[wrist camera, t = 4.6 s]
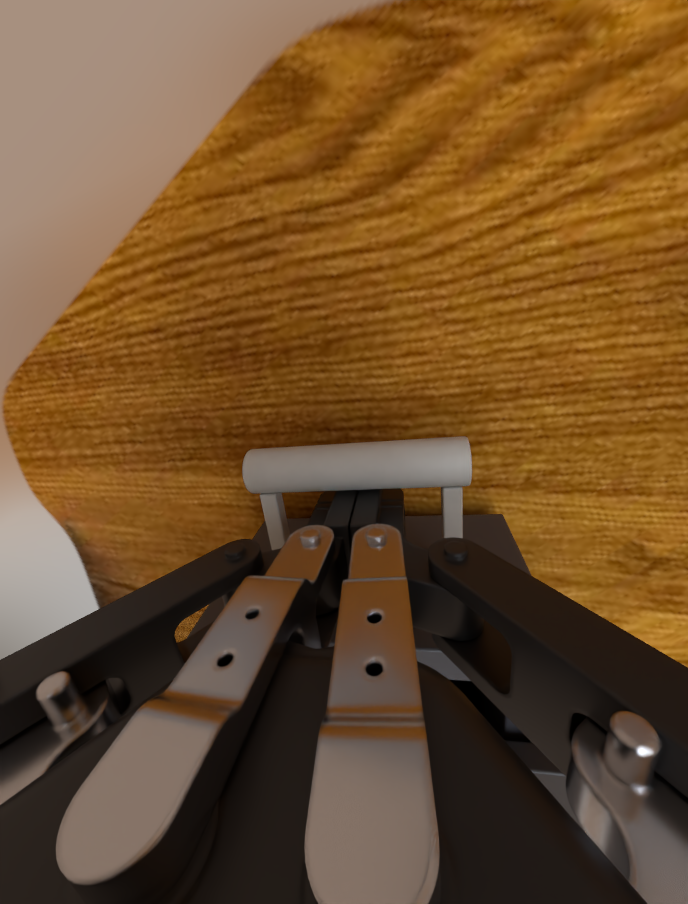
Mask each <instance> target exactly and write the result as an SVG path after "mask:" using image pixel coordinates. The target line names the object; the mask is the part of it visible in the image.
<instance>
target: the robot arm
mask: <svg viewBox="0 0 688 904" xmlns="http://www.w3.org/2000/svg"><path fill="white" fill-rule="evenodd" d="M221 596H222V599H223V602H224V606H225V607H224V609H223V610H222V611H221V613H220V614H219V616H218V617H217V619H216V620H215V621H213V622H212V623H210V624H209V625H207V626H205V627H204V628H202V629H201V630H199V631H198V632H196V633H195V634H193V635H191V636H190V637H188V638H187V639H185V640H183V641H181V642H177V643H176V640H175V637H174V634H175V630H176V628H177V626H178V625H179V623H180V622H181V621H183V620H184V619H185V618H187V617H188V616H190V615H192V614H193V613H195V612H197V611H198V610H200V609H202V608H203V607H205V606H207V605H208V604H210V603H212V602H213V601H215V600H217V599H218V598H220V597H221ZM413 627H414V628H417V629H420V630H423V631H426V632H429V633H432V638H433V641H434V643H435V644H436V646H437V647H438V648H439V649H440V650H441V651H442V652H443V653H444V654H445V655H446V656H447V657H448V658H449V659H450V660H451V661H452V662H453V663H454V664H455V665H456V666H457V667H458V668H459V669H460V670H461V671H462V672H463V673H464V674H465V675H466V676H467V677H468V678H469V679H470V680H471V681H472V682H473V683H474V684H475V685H476V686H477V687H478V688H479V689H480V690H481V691H482V692H483V693H484V694H485V696H486V697H487V698H488V699H489V700H490V701H491V702H492V703H493V704H494V705H495V706H496V707H497V708H498V709H499V710H500V711H501V712H502V713H503V714H504V715H505V716H506V717H507V718H508V719H509V720H510V721H511V722H512V723H513V724H514V725H515V726H516V727H517V728H518V729H519V730H520V731H521V732H522V733H523V734H524V735H525V736H526V737H527V738H528V739H529V740H530V741H531V742H532V743H533V744H534V745H535V746H536V747H537V748H538V749H539V750H540V751H541V752H542V753H543V754H544V755H545V756H546V757H547V758H548V759H549V760H550V761H551V762H552V763H553V764H554V765H555V766H556V767H557V768H558V769H559V770H560V771H561V772H562V773H563V774H564V775H565V776H566V793H567V798H568V801H569V804H570V807H571V809H572V811H573V813H574V815H575V817H576V819H577V820H578V822H579V823H580V825H581V827H582V828H583V829H584V830H585V832H586V833H587V834H588V835H587V834H586V833H585V832H584V830H583V829H582V828H581V827H580V826H579V825H578V824H577V822H576V821H575V820H574V819H573V818H572V817H571V816H570V814H569V813H568V812H567V811H566V810H565V809H564V808H563V806H562V805H561V804H560V803H559V802H558V801H557V800H556V798H555V797H554V796H553V795H552V794H551V793H550V792H549V790H548V789H547V788H546V787H545V786H544V785H543V784H542V782H541V781H540V780H539V779H538V778H537V777H536V776H535V774H534V773H533V772H532V771H531V770H530V769H529V768H528V766H527V765H526V764H525V763H524V762H523V761H522V760H521V759H520V757H519V756H518V755H517V754H516V753H515V752H514V751H513V749H512V748H511V747H510V746H509V745H508V744H507V743H506V741H505V740H504V739H503V738H502V737H501V736H500V735H499V733H498V732H497V731H496V730H495V729H494V728H493V727H492V725H491V724H490V723H489V722H488V721H487V720H486V719H485V717H484V716H483V715H482V714H481V713H480V712H479V711H478V709H477V708H476V707H475V706H474V705H473V704H472V703H471V701H470V700H469V699H468V698H467V697H466V696H465V695H464V694H463V693H462V691H461V690H460V689H459V688H458V687H456V686H455V685H454V684H453V683H452V682H451V681H450V680H449V679H448V678H446V677H445V676H443V675H442V674H441V673H439V672H438V671H436V670H435V669H433V668H431V667H429V666H427V665H425V664H423V663H421V662H418V661H417V658H416V649H415V641H414V633H413ZM0 904H688V668H687V667H686V666H684V665H682V664H680V663H679V662H677V661H675V660H674V659H672V658H670V657H668V656H667V655H665V654H663V653H662V652H660V651H658V650H657V649H655V648H653V647H651V646H650V645H648V644H646V643H645V642H643V641H641V640H640V639H638V638H636V637H634V636H633V635H631V634H629V633H628V632H626V631H624V630H623V629H621V628H619V627H617V626H616V625H614V624H612V623H611V622H609V621H607V620H606V619H604V618H602V617H600V616H599V615H597V614H595V613H594V612H592V611H590V610H589V609H587V608H585V607H583V606H582V605H580V604H578V603H577V602H575V601H573V600H572V599H570V598H568V597H566V596H565V595H563V594H561V593H560V592H558V591H556V590H555V589H553V588H551V587H549V586H548V585H546V584H544V583H543V582H541V581H539V580H538V579H536V578H534V577H532V576H531V575H529V574H527V573H526V572H524V571H522V570H520V569H519V568H517V567H515V566H514V565H512V564H510V563H509V562H507V561H505V560H503V559H502V558H500V557H498V556H497V555H495V554H493V553H492V552H490V551H488V550H486V549H485V548H483V547H481V546H480V545H478V544H476V543H474V542H472V541H470V540H467V539H464V538H456V537H449V538H443V539H440V540H437V541H435V542H434V543H432V544H431V545H430V547H429V549H426V548H422V547H418V546H416V545H414V544H412V543H410V542H409V541H408V540H407V539H406V524H405V510H404V496H403V491H402V490H401V489H400V488H396V489H368V490H340V491H325V492H324V493H322V494H321V495H320V498H319V500H318V502H317V504H316V506H315V510H314V511H313V513H312V515H311V517H310V519H309V522H308V524H307V526H305V527H302V528H300V529H298V530H296V531H294V532H293V533H292V534H291V535H290V536H289V537H288V539H287V541H286V542H285V544H284V545H283V547H282V548H280V549H275V550H271V551H266V552H261V549H260V545H259V543H258V542H256V541H254V540H251V539H241V540H236V541H232V542H230V543H227V544H225V545H223V546H221V547H219V548H217V549H215V550H213V551H211V552H209V553H208V554H206V555H204V556H202V557H200V558H198V559H196V560H194V561H192V562H190V563H188V564H186V565H184V566H182V567H180V568H178V569H176V570H174V571H173V572H171V573H169V574H167V575H165V576H163V577H161V578H159V579H157V580H155V581H153V582H151V583H149V584H147V585H145V586H143V587H141V588H139V589H137V590H136V591H134V592H132V593H130V594H128V595H126V596H124V597H122V598H120V599H118V600H116V601H114V602H112V603H110V604H108V605H106V606H104V607H102V608H100V609H99V610H97V611H95V612H93V613H91V614H89V615H87V616H85V617H83V618H81V619H79V620H77V621H75V622H73V623H71V624H69V625H67V626H65V627H64V628H62V629H60V630H58V631H56V632H54V633H52V634H50V635H48V636H46V637H44V638H42V639H40V640H38V641H36V642H34V643H32V644H31V645H28V646H27V647H25V648H23V649H21V650H19V651H17V652H15V653H13V654H11V655H9V656H7V657H5V658H3V659H1V660H0Z"/></svg>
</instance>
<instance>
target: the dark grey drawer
mask: <svg viewBox="0 0 688 904" xmlns="http://www.w3.org/2000/svg"><path fill="white" fill-rule="evenodd" d="M242 473H243V480H244V484H245V486H246V488H247V490H248V491H249V492H251V493H253V494H255V493H261V494H260V499H261V504H262V508H263V513H264V517H265V521H264V523H263V524H262V526H261V527H260V529H259V530H258V532H257V533H256V535H255V536H254V538H253V539H252V540H254V541H256V542H258V543H259V545H260V549H261V552H266V551H271V550H275V549H280V548H282V547H283V545H284V544H285V542H286V541H287V539H288V537H289V536H290V535H291V534H292V533H293V532H294V531H296V530H298V529H300V528H302V527H305V526H307V524H308V522H309V519H310V518H293V519H287V517H286V512H285V507H284V502H283V497H282V493H283V492H311V491H340V490H368V489H396V488H424V487H441V508H442V515H436V516H405V524H406V539H407V540H408V541H409V542H410V543H412V544H414V545H416V546H418V547H422V548H426V549H429V547H430V545H431V544H432V543H434V542H435V541H437V540H440V539H443V538H449V537H456V538H464V539H467V540H470V541H472V542H474V543H476V544H478V545H480V546H481V547H483V548H485V549H486V550H488V551H490V552H492V553H493V554H495V555H497V556H498V557H500V558H502V559H503V560H505V561H507V562H509V563H510V564H512V565H514V566H515V567H517V568H519V569H520V570H522V571H524V572H526V573H527V574H529V575H531V574H530V572H529V569H528V567H527V565H526V563H525V561H524V559H523V557H522V555H521V553H520V550H519V548H518V546H517V544H516V542H515V540H514V538H513V536H512V534H511V532H510V529H509V527H508V525H507V523H506V521H505V519H504V517H503V515H502V514H484V515H463V504H462V486H468V485H470V483H471V478H472V459H471V450H470V444H469V441H468V439H467V437H465V436H461V437H445V438H428V439H412V440H395V441H379V442H362V443H346V444H329V445H313V446H296V447H280V448H263V449H251V450H249V451H248V452H247V453H246V455H245V457H244V460H243V468H242ZM224 607H225V606H224V602H223V599H222V596H221V597H220V598H218V599H217V600H215V601H213V602H212V603H210V604H209V605H208V607H207V608H206V610H205V611H204V613H203V614H202V616H201V617H200V619H199V620H198V622H197V623H196V625H195V626H194V628H193V629H192V631H191V632H190V634H189V635H188V637H190V636H191V635H193V634H195V633H196V632H198V631H199V630H201V629H202V628H204V627H205V626H207V625H209V624H210V623H212V622H213V621H215V620H216V619H217V617H218V616H219V614H220V613H221V611H222V610H223V609H224ZM413 633H414V641H415V649H416V658H417V661H418V662H421V663H423V664H425V665H427V666H429V667H431V668H433V669H435V670H436V671H438V672H439V673H441V674H442V675H443V676H445V677H446V678H448V679H449V680H450V681H451V682H452V683H453V684H454V685H455V686H456V687H458V688H459V689H460V690H461V691H462V693H463V694H464V695H465V696H466V697H467V698H468V699H469V700H470V701H471V703H472V704H473V705H474V706H475V707H476V708H477V709H478V711H479V712H480V713H481V714H482V715H483V716H484V717H485V719H486V720H487V721H488V722H489V723H490V724H491V725H492V727H493V728H494V729H495V730H496V731H497V732H498V733H499V735H500V736H501V737H502V738H503V739H504V740H509V741H520V742H530V740H529V739H528V738H527V737H526V736H525V735H524V734H523V733H522V732H521V731H520V730H519V729H518V728H517V727H516V726H515V725H514V724H513V723H512V722H511V721H510V720H509V719H508V718H507V717H506V716H505V715H504V714H503V713H502V712H501V711H500V710H499V709H498V708H497V707H496V706H495V705H494V704H493V703H492V702H491V701H490V700H489V699H488V698H487V697H486V696H485V694H484V693H483V692H482V691H481V690H480V689H479V688H478V687H477V686H476V685H475V684H474V683H473V682H472V681H471V680H470V679H469V678H468V677H467V676H466V675H465V674H464V673H463V672H462V671H461V670H460V669H459V668H458V667H457V666H456V665H455V664H454V663H453V662H452V661H451V660H450V659H449V658H448V657H447V656H446V655H445V654H444V653H443V652H442V651H441V650H440V649H439V648H438V647H437V646H436V644H435V643H434V641H433V638H432V633H429V632H426V631H423V630H420V629H417V628H414V627H413ZM188 637H187V638H188Z"/></svg>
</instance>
